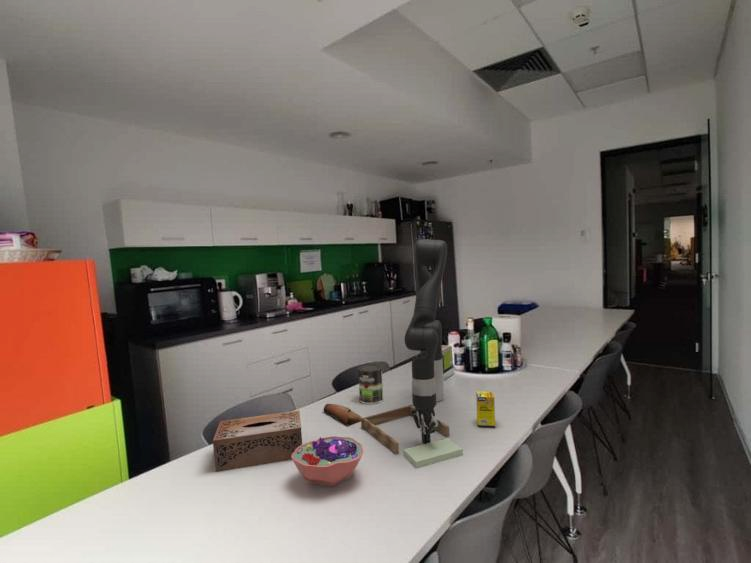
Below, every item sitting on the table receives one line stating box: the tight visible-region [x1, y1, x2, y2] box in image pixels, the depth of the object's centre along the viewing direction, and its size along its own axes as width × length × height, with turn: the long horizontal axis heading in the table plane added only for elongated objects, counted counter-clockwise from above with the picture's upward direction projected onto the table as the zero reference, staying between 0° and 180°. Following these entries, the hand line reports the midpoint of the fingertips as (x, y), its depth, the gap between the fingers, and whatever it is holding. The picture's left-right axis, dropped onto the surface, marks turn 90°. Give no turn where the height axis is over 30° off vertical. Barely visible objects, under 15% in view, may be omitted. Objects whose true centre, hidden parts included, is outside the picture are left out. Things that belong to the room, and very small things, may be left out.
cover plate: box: [403, 437, 464, 469], centre depth 121 cm, size 8×16×2 cm, turn 113°
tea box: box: [442, 344, 454, 382], centre depth 195 cm, size 15×10×15 cm
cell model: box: [291, 436, 365, 487], centre depth 111 cm, size 17×20×11 cm
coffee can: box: [357, 364, 384, 405], centre depth 169 cm, size 10×10×14 cm
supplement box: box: [475, 390, 496, 429], centre depth 140 cm, size 6×6×11 cm
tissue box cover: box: [212, 410, 303, 473], centre depth 127 cm, size 26×14×10 cm, turn 103°
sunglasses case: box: [323, 403, 363, 427], centre depth 154 cm, size 18×7×7 cm, turn 37°
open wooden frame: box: [360, 404, 450, 455], centre depth 138 cm, size 23×22×4 cm
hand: (426, 443), depth 126 cm, fingers closed
